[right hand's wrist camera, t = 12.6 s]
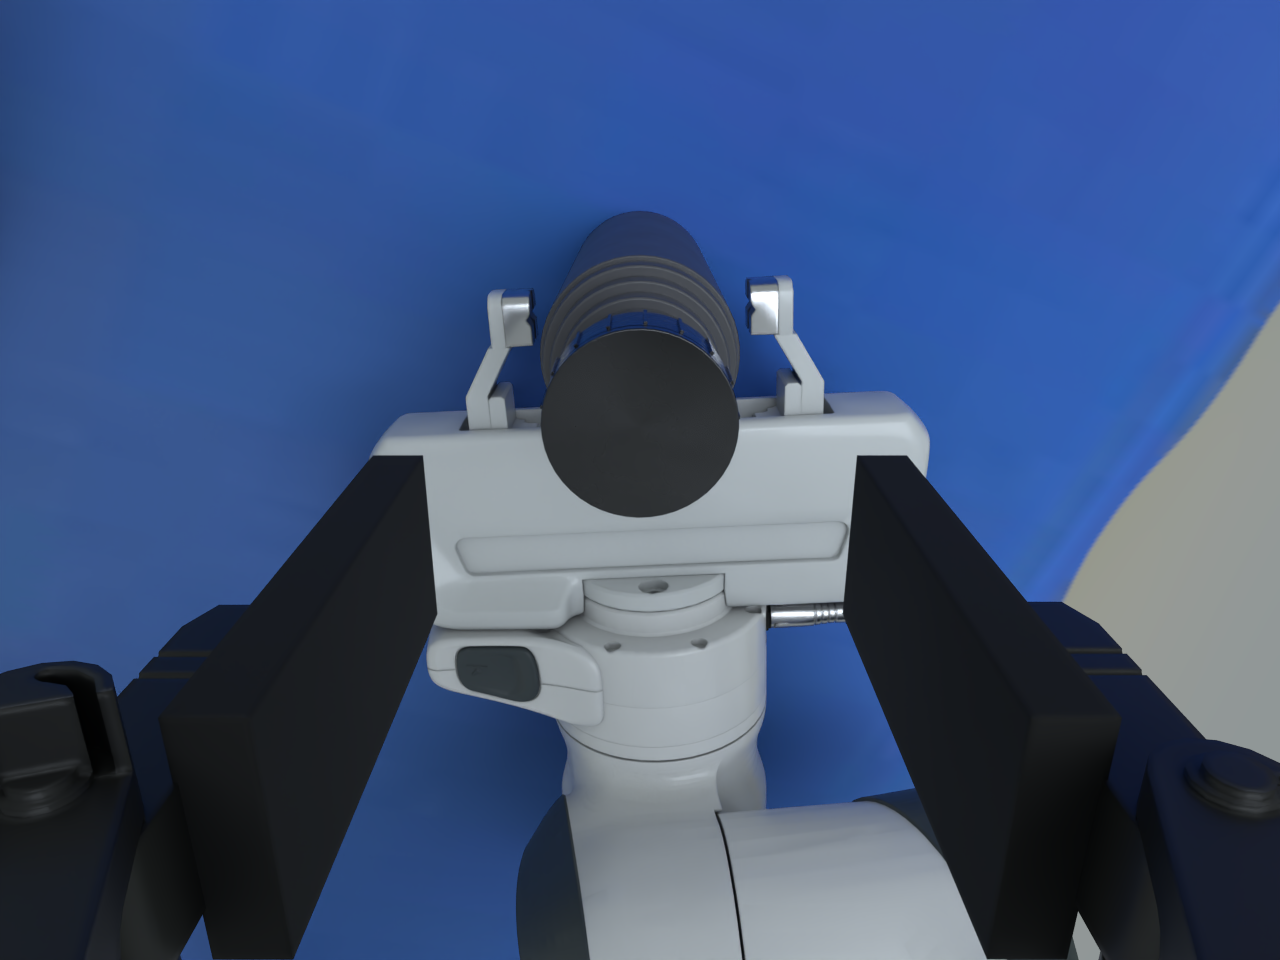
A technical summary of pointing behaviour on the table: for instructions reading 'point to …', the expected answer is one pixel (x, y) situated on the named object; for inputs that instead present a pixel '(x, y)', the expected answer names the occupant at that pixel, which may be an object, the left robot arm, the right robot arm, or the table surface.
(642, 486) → the cap
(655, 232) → the bottle
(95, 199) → the table surface
